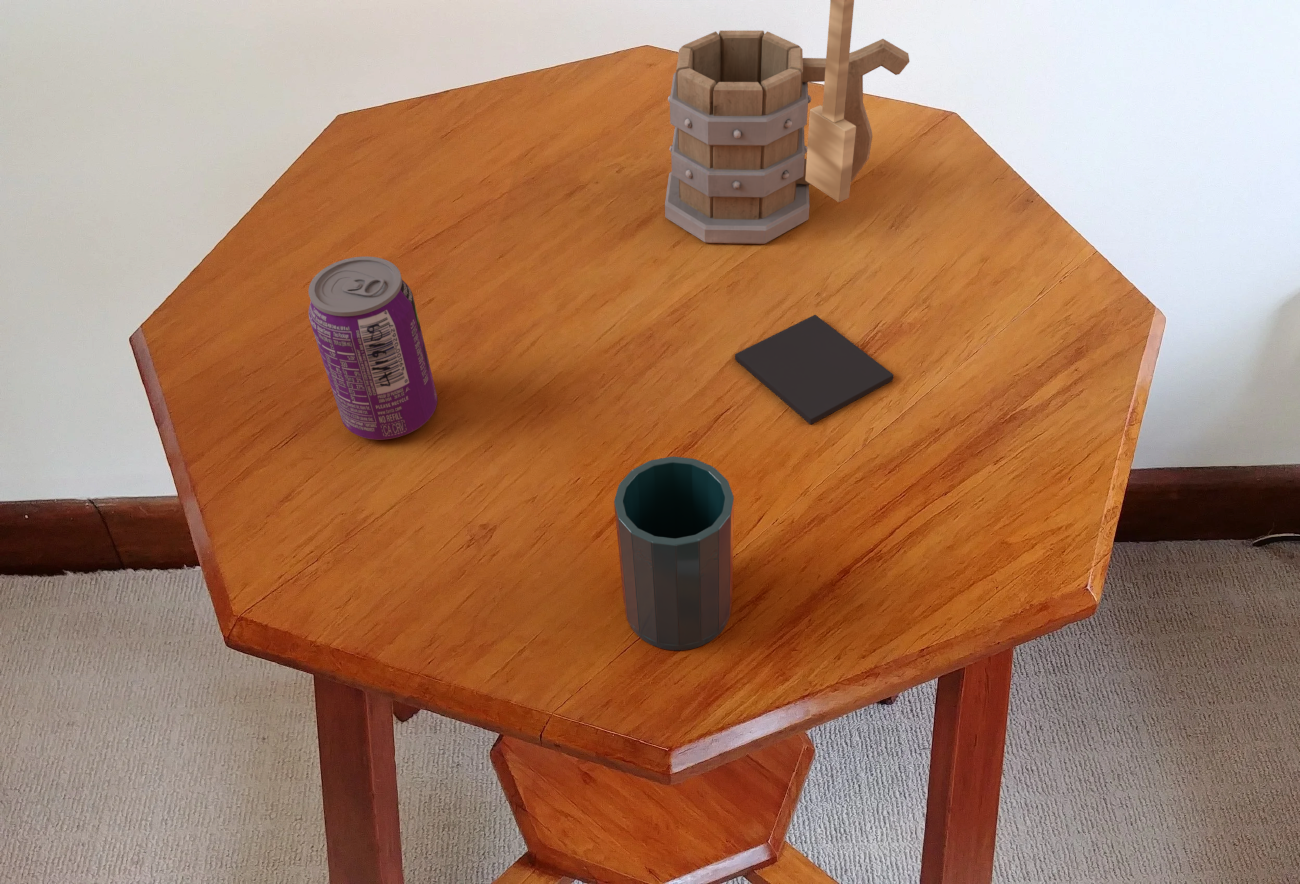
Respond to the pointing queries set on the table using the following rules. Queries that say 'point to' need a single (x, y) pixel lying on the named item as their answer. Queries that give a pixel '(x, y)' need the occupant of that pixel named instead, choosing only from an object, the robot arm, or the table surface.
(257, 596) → the table surface
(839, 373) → the mat
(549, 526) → the table surface
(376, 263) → the beverage can
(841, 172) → the wooden stir stick
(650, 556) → the cup
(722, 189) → the tankard
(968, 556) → the table surface
